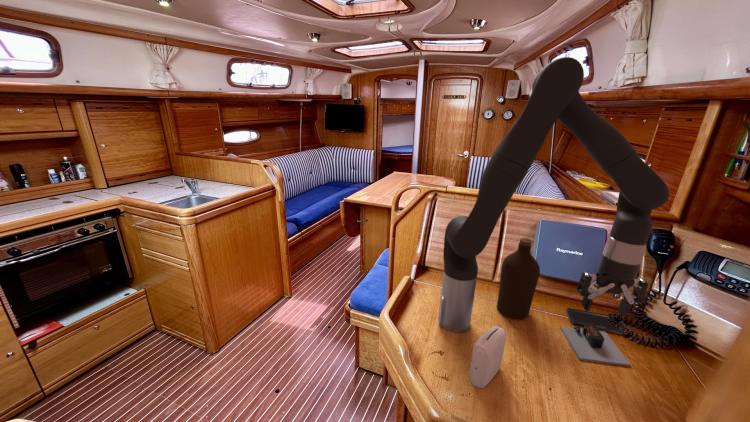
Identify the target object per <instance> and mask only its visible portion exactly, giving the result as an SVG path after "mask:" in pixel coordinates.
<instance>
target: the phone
mask: <svg viewBox="0 0 750 422" xmlns="http://www.w3.org/2000/svg"><path fill="white" fill-rule="evenodd" d="M565 312H566V315H567V317H568V320H569V322H570V324H571V325H573V326H575V327H577V326H579V327H580V328H583V327H584V324H585V323H589V324H594V325H595V326H596V327H597V329H598V330H599V331H603V332H606V333H611V334H617V335H620V336H621V335H622V336H624V335H623V332H620V331H619V330H618V329H617V328H615V327H614V326H613V325H611V324H610V323H609V322H608V320H607V318H608V317H609V316H610V315H608V314H603V313H598V312H593V311H586V310H583V309H577V308H571V307H567V308H566V309H565ZM618 325H620V326H621V327H624V328H626V329H627V330H629V328H628V327H627V326H626V324H625V322H624V321H623V320H622V321H620V322H618Z"/></svg>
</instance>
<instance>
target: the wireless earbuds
mask: <svg viewBox="0 0 750 422" xmlns="http://www.w3.org/2000/svg"><path fill="white" fill-rule="evenodd" d="M572 328H574V329H576V332H578V333H580V329H581V326H574V327H572ZM582 329H583V330H582V332H583V334H584V336H585V337H586V339H587V341H588V342H589V344H590V346H591V347H594V348H602V346H603V342H604V337H603V336H602V334H601V333H600V331H601V330H598V329H597V327H596V326H595V325H594V324H589V323H585V324H584V327H582Z"/></svg>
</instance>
